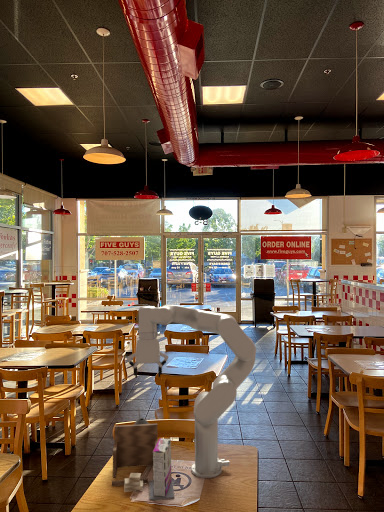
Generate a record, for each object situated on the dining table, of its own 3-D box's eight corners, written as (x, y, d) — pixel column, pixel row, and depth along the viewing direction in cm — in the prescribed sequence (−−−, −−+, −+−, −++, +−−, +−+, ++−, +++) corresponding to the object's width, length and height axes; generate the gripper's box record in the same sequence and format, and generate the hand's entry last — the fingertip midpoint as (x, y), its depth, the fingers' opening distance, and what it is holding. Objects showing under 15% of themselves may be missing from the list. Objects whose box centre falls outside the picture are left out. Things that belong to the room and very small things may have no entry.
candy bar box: (159, 479, 154) (159, 437, 154) (171, 480, 153) (171, 438, 154) (152, 496, 143) (152, 450, 143) (165, 497, 142) (165, 451, 142)
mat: (172, 480, 154) (172, 479, 154) (174, 498, 142) (174, 496, 142) (149, 482, 153) (149, 480, 153) (149, 500, 141) (149, 498, 141)
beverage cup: (148, 457, 173) (148, 412, 174) (132, 457, 173) (131, 412, 174) (150, 450, 180) (150, 406, 181) (134, 450, 180) (134, 406, 181)
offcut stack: (142, 484, 152) (142, 472, 152) (142, 490, 147) (142, 478, 147) (124, 485, 151) (124, 473, 151) (124, 492, 147) (123, 479, 147)
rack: (157, 463, 168) (157, 423, 168) (158, 482, 153) (158, 438, 153) (114, 466, 166) (114, 425, 166) (111, 486, 151) (111, 441, 151)
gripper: (167, 333, 169) (167, 373, 169) (127, 334, 167) (127, 375, 167) (168, 336, 162) (168, 378, 161) (126, 337, 160) (126, 380, 159)
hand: (147, 376), depth 164 cm, fingers open, 9 cm apart
